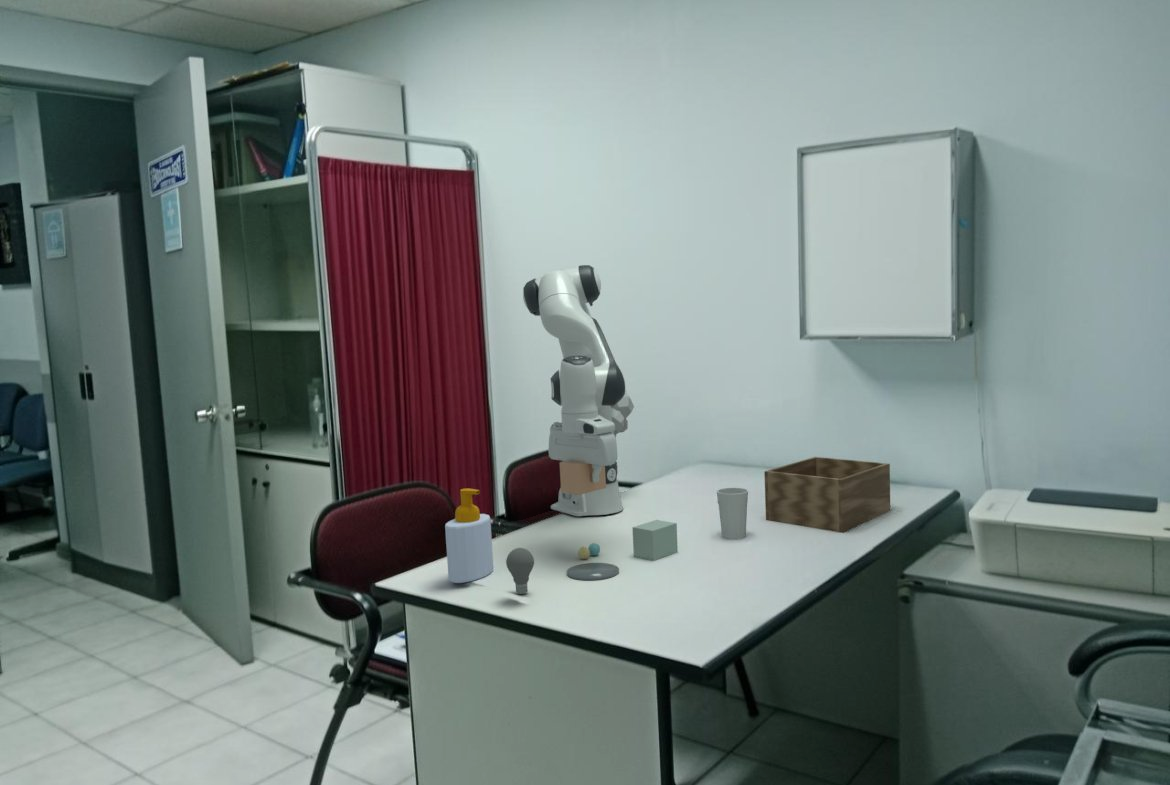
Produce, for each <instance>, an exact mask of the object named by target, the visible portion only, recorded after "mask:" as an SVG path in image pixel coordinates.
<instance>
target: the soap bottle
mask: <svg viewBox="0 0 1170 785" xmlns="http://www.w3.org/2000/svg"><path fill="white" fill-rule="evenodd" d="M459 491H460V492H459V493H460V505H459V506H457V507H456V509H455V512H454V519H451V520H449V521H447V522H446V523H445V525H444V529H445V544H446V546H445V547H446V557H447V558H446V560H447V563H446V564H447V575H448V577H447V578H448V581H449V582H451V583H454V584H462V583H463V584H464V583H469V582H472V581H478V580H480V579H482V578H485V577H487V576H489V575H490V574H492V572H494V556H493V541H492V522H491V520H492V519H491V517H490V515H489V514H486V513H480V511H481V510H480V508H479V506H477V505H475V504H474V503H473V495H479V494H480V492H481V491H480V489H475V488H462V489H460V490H459Z"/></svg>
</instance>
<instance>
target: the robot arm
mask: <svg viewBox="0 0 1170 785" xmlns="http://www.w3.org/2000/svg"><path fill="white" fill-rule="evenodd" d="M522 289H523V292H522V297H523V298H522V299H523V304H524V305H525V307H526V308H527V310H528V312H529V313H530V314H531V315H534V316H535V317H540V320H541V324H542V326H543V328H544V329H545V331H546V332H547V333H548V334H549V335H551V336H553V337H554V338H557V339H558V342H559V343H558V344H559V346H560V350H561V354H562V359H561V362H560V369H558V370H556V371H555V372H554V374H552V376H551V377H550V384H551V387H550V388H551V400H552V401H553V402H554V403H556V404H557V405H559V406H561V410H560V412H561V413H560V414H561V415H560V416H561V422H559V421H554V422H553V423H552V424H551V426H550V427H549V432H550V433H549V437H548V456H549V458H550V459H551V460H556V461H561V462H563V461H576V462H584V463H587V464H592V468H593V469H594V470H593V473H592V475H590V482H593V483H596V482H599V474H600V472H601V470H602V465H604V466H605V478H606V488H604V489H600V490H596V491H592V492H589V493H585V494H581V495H579V494H572V493H565V492H561V487H560V488H559V491H558V501H556V502H555V503H553V504H551V505H550V509H551V510H554V511H558V512H560V513H564V514H567V515H571V516H575V517H583V516H585V517H586V516H603V515H604V516H605V515H609V514H616V513H618V512H621V511H623V510H624V507H623V506H624V505H623V501H622V499H621V495H620V488H619V487H620V486H619V482H618V478H617V477H618V463H617V461H618V447H617V446H618V445H617V443H618V442H617V437H616V438H615V435H614V432H613V431H614V430H615V424H614V423H613V422H612V417H611V406H614V405H615V404H617V403H618V402H619V401H620V400H621V399H622V398H623V396H624V395H625V390H626V381H625V377H624V375H623V372H622V371H621V369H620V367H619V365H618V364H617V361H616V360H615V357H614V355H613V353H612V351H611V348H610V346H609V343H608V341H607V339H606V337H605V333H604V332H603V329H602V328H601V326H600V324H599V322H598V320H597V319H596V318H594V317H592V314H591V312H590V310H589V307H588V304H589V306H590V307H593V305H594V304H593V303H594V302H596V301H597V300H598V298H599V296H601V289H602V281H601V278H600V275H599V274H598V273H597V271H596V270H595V267H593V266H591V265H589V264H581V265H578V266H577V267H576V266H575V267H574V266H573V267H569V268H563V269H554V270H550V271H548V272H546V273H544V274H543V276H540V277H538V278H533V279H531V280H529V281H527V282H526V283H525V284H524V286H523V288H522Z"/></svg>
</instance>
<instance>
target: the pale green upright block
mask: <svg viewBox="0 0 1170 785" xmlns="http://www.w3.org/2000/svg"><path fill="white" fill-rule="evenodd" d="M677 524H678V523H676V522H673V521H672V522H671V521H666V520H660V519H654V520H652V521H649V522H645V523H642V524H639V525H635V526H632V548H633V557H635V558H640V559H645V560H650V561H656V560H660V559H661V558H665V557H667V556H671V555H673V554H677V553H679V551H678V548H679V547H678V525H677Z"/></svg>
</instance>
